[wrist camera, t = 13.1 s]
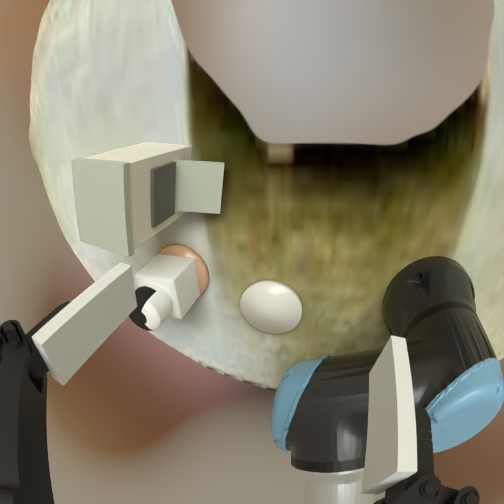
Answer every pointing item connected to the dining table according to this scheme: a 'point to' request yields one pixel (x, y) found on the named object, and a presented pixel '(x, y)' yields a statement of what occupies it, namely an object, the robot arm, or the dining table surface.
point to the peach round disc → (188, 252)
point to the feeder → (141, 193)
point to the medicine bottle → (164, 290)
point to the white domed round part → (271, 306)
